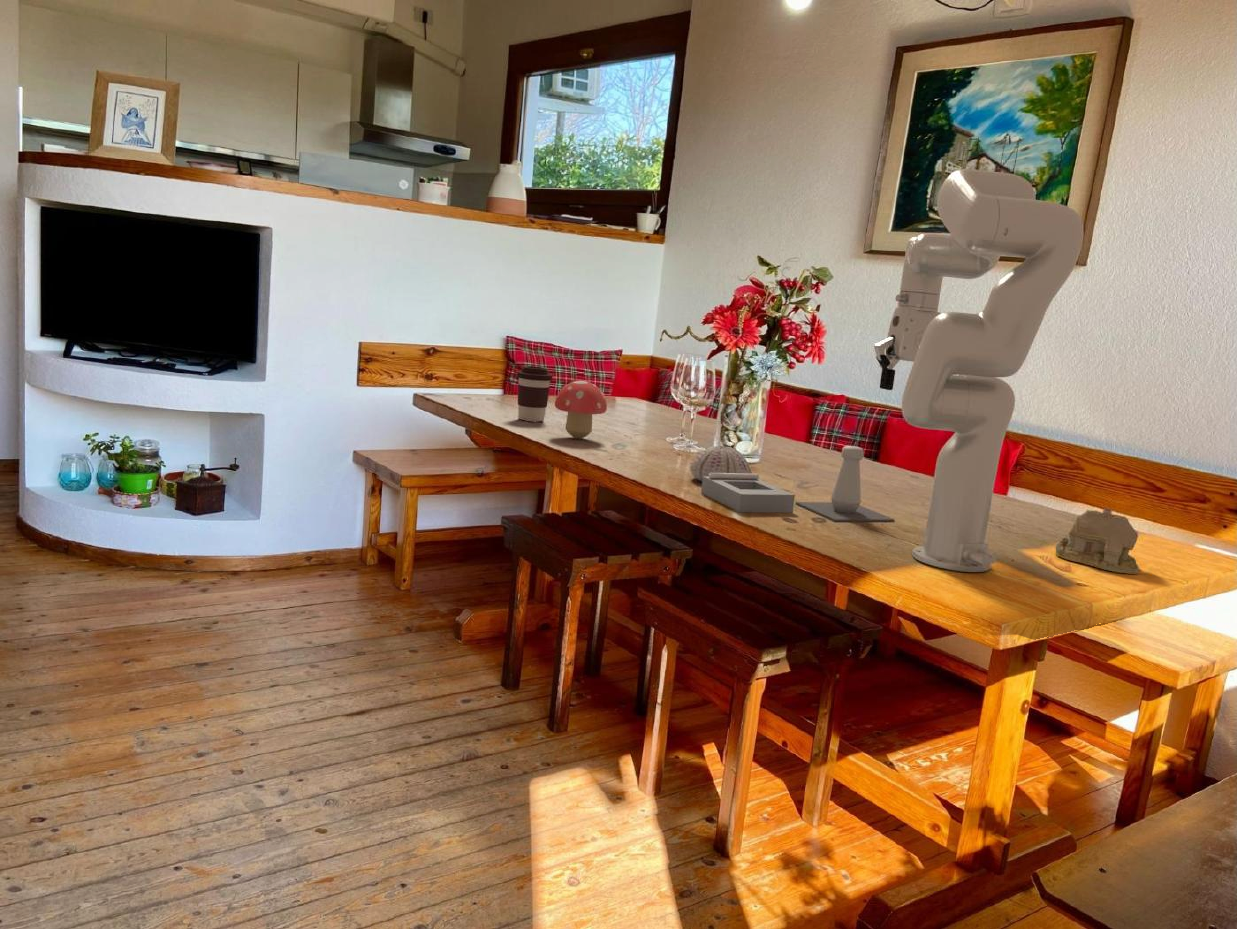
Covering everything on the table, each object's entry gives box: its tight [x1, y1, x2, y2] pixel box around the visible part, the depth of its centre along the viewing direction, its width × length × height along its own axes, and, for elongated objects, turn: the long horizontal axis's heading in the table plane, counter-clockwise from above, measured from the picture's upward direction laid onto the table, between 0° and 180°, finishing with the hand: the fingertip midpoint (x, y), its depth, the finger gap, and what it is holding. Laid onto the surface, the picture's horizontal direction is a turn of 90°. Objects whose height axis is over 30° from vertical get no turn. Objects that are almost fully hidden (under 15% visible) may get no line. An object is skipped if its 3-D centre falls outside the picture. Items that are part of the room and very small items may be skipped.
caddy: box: [700, 473, 796, 513], centre depth 200 cm, size 16×12×5 cm
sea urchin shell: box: [689, 445, 753, 482], centre depth 219 cm, size 13×14×8 cm
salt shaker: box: [830, 445, 864, 513], centre depth 199 cm, size 6×6×13 cm
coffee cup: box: [516, 365, 553, 422], centre depth 281 cm, size 10×10×15 cm
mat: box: [794, 501, 896, 522], centre depth 200 cm, size 14×14×1 cm
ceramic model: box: [1055, 508, 1140, 575], centre depth 178 cm, size 14×11×10 cm
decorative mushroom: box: [554, 380, 608, 440], centre depth 258 cm, size 13×13×15 cm
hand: (905, 390), depth 197 cm, fingers open, 9 cm apart
